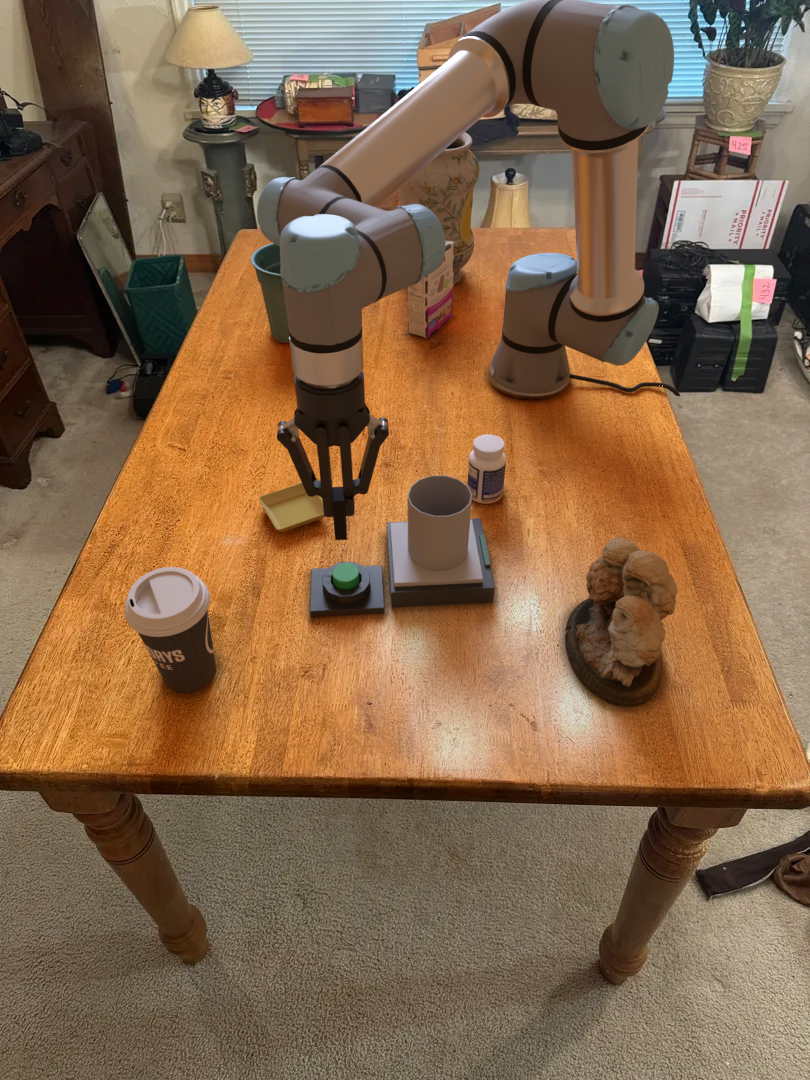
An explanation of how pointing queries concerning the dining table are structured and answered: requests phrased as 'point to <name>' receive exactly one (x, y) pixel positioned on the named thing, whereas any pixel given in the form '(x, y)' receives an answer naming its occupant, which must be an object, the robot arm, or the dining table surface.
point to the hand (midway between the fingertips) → (341, 532)
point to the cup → (438, 522)
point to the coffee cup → (174, 626)
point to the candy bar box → (432, 298)
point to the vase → (448, 196)
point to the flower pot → (272, 289)
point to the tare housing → (346, 593)
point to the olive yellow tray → (292, 507)
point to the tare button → (345, 576)
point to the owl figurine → (622, 624)
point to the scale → (439, 573)
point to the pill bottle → (487, 469)
